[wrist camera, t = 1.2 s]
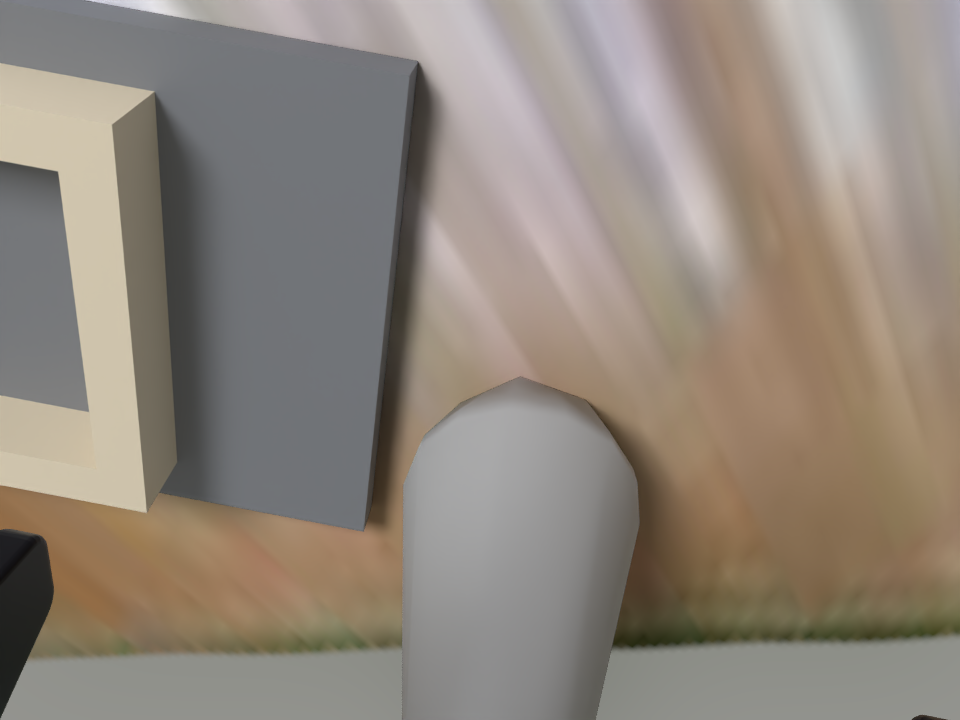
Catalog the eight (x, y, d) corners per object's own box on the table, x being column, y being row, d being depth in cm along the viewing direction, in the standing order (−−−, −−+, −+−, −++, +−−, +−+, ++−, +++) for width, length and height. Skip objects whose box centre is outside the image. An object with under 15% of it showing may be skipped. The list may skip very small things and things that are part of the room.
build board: (418, 61, 19) (389, 108, 17) (371, 506, 27) (346, 586, 24) (-324, -75, 19) (-460, -48, 17) (-165, 405, 27) (-244, 472, 24)
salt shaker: (683, 426, 24) (743, 992, 13) (556, 549, 27) (520, 1091, 16) (493, 311, 22) (386, 835, 12) (383, 454, 25) (218, 975, 15)
